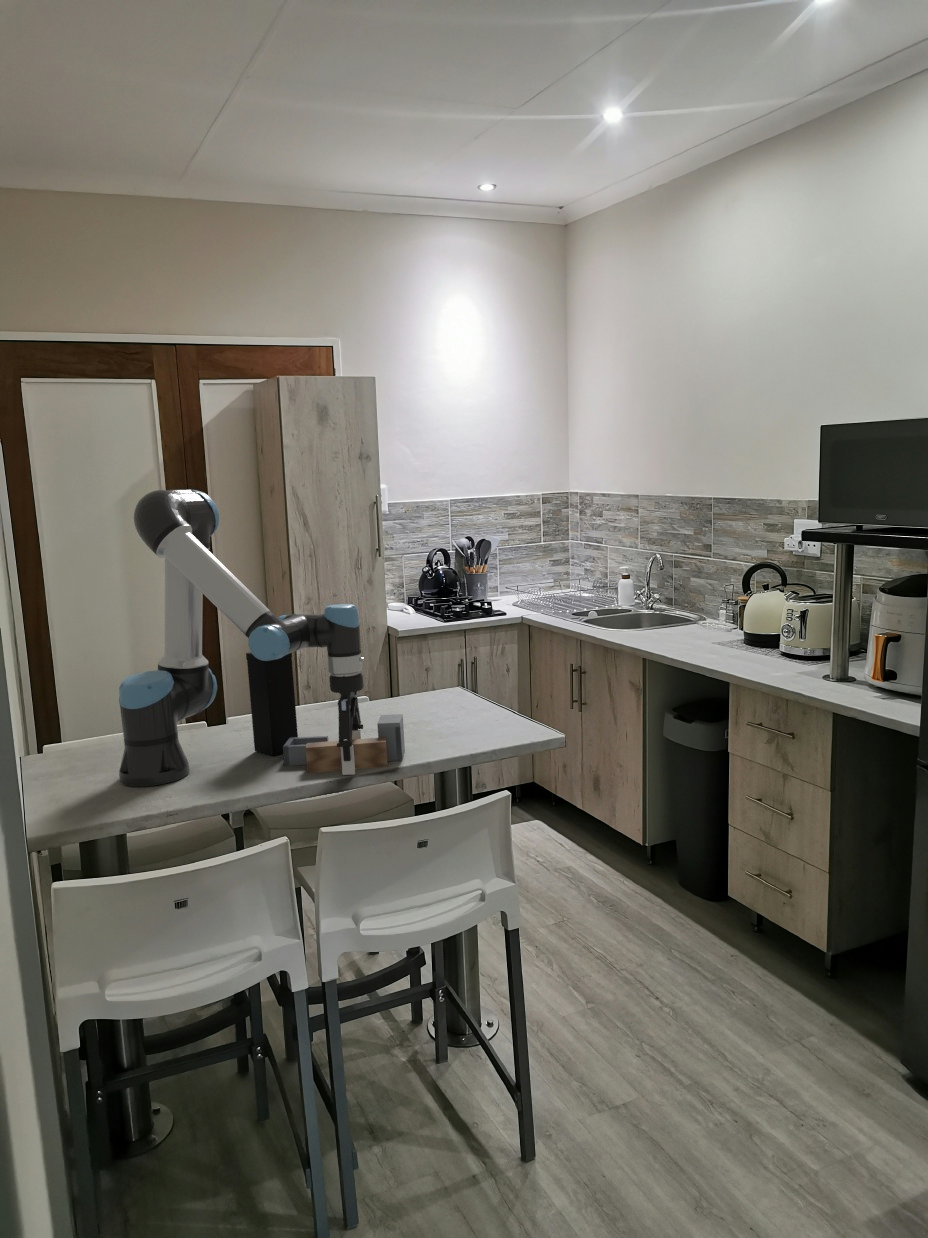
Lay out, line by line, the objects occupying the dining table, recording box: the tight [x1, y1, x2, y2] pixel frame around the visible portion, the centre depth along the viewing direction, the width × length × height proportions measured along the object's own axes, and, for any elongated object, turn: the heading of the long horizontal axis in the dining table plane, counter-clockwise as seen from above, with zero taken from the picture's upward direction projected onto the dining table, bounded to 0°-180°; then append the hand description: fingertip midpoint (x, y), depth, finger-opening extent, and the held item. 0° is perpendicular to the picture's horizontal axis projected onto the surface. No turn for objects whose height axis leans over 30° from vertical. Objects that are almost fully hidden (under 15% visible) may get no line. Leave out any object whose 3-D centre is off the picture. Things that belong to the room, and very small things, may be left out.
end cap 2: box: [376, 713, 406, 762], centre depth 216 cm, size 5×8×9 cm, turn 179°
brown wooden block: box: [306, 737, 388, 774], centre depth 210 cm, size 18×4×6 cm, turn 96°
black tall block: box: [245, 651, 299, 757], centre depth 225 cm, size 8×8×28 cm
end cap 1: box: [282, 735, 329, 767], centre depth 217 cm, size 9×8×4 cm
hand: (352, 765), depth 210 cm, fingers open, 12 cm apart
